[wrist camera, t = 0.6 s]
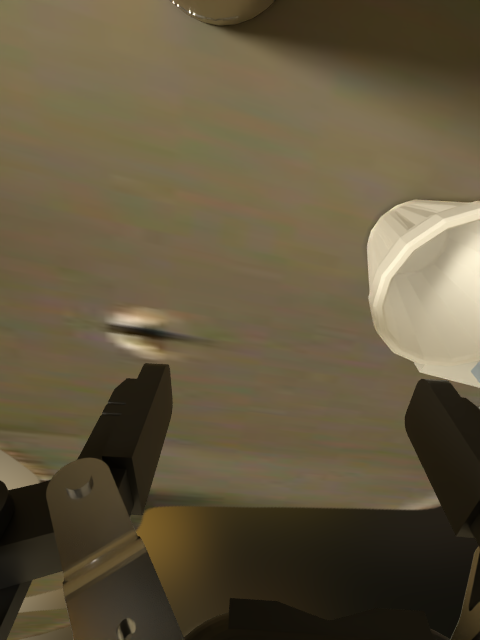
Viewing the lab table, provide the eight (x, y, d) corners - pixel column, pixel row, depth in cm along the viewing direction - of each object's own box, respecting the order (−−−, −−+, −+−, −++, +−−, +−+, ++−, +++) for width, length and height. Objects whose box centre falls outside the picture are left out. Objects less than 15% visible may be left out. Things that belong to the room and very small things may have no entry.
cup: (419, 137, 23) (501, 159, 15) (506, 227, 26) (612, 285, 18) (314, 250, 28) (335, 311, 20) (398, 316, 30) (445, 392, 23)
